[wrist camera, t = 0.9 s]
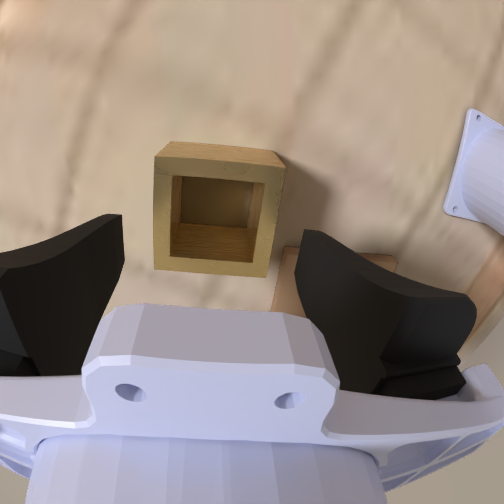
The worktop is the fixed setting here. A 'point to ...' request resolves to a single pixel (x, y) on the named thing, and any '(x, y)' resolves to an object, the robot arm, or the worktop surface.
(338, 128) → the worktop surface
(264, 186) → the collar
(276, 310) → the shaft block
